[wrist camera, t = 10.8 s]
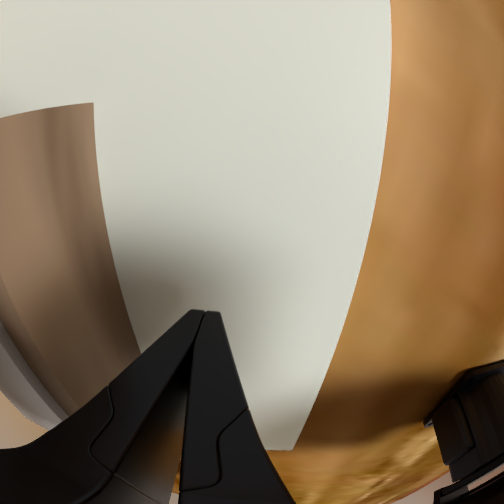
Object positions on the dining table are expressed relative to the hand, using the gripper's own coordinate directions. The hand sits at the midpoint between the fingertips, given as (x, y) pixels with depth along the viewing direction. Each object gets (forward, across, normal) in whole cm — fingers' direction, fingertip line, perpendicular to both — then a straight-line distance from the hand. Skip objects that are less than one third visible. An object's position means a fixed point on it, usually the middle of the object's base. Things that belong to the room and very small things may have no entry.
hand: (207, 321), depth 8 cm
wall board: (+2, +5, 0) cm, 5 cm away
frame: (+1, +6, 0) cm, 6 cm away
